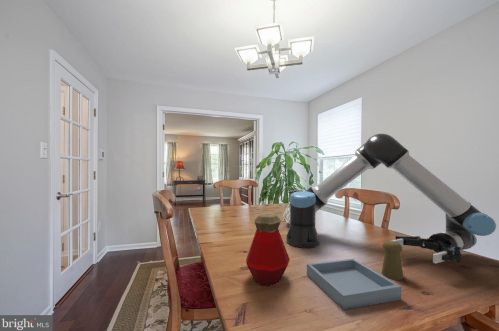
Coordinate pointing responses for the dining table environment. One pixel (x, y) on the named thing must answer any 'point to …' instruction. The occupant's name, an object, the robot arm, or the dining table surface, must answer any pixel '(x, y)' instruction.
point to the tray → (353, 283)
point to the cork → (392, 260)
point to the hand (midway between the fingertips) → (410, 251)
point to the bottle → (267, 251)
